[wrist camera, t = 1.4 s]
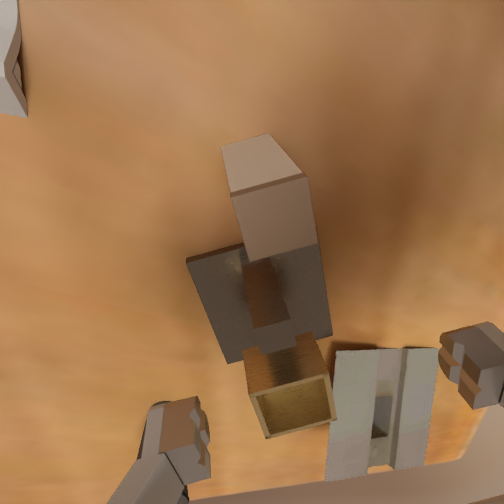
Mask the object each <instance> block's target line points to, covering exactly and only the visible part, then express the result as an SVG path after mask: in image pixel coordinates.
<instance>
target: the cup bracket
mask: <svg viewBox="0 0 504 504" xmlns="http://www.w3.org/2000/svg"><path fill="white" fill-rule="evenodd" d="M315 227H316V226H315ZM316 233H317V230H316ZM317 240H318V236H317ZM186 264H187V267H188V269H189V271H190V274H191V276H192V279H193V281H194V284H195V286H196V289H197V291H198V293H199V296H200V298H201V301H202V303H203V306H204V308H205V310H206V313H207V315H208V318H209V320H210V323H211V325H212V328H213V330H214V332H215V335H216V337H217V340H218V342H219V345H220V347H221V350H222V352H223V354H224V357H225V359H226V362H227V364H230V363H234V362H237V361H241V360H244V365H245V372H246V379H247V386H248V394H249V397H250V399H251V402H252V404H253V407H254V410H255V412H256V415H257V417H258V420H259V422H260V425H261V428H262V430H263V433H264V435H265V438H266V439H270V438H273V437H277V436H281V435H284V434H288V433H292V432H295V431H299V430H303V429H306V428H310V427H314V426H318V425H321V424H325V423H329V422H332V421H336V420H337V415H336V409H335V404H334V398H333V393H332V387H331V381H330V376H329V371H328V369H327V367H326V364H325V362H324V359H323V357H322V354H321V352H320V349H319V347H318V344H317V342H316V340H318V339H322V338H325V337H329V336H333V332H332V326H331V319H330V313H329V307H328V300H327V294H326V287H325V281H324V275H323V268H322V262H321V255H320V249H319V243H316V244H313V245H309V246H305V247H302V248H298V249H294V250H291V251H287V252H284V253H280V254H276V255H273V256H269V257H265V258H262V259H258V260H255V261H251V262H250V261H249V258H248V254H247V251H246V247H245V244H244V243H240V244H237V245H233V246H229V247H226V248H222V249H218V250H215V251H211V252H208V253H204V254H200V255H197V256H193V257H190V258H186Z"/></svg>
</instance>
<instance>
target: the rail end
mask: <svg viewBox="0 0 504 504" xmlns="http://www.w3.org/2000/svg"><path fill="white" fill-rule="evenodd" d="M221 150H222V155H223V159H224V164H225V168H226V173H227V177H228V182H229V186H230V191H231V193H230V195H231V199H232V203H233V206H234V210H235V213H236V216H237V220H238V223H239V227H240V230H241V234H242V237H243V241H244V244H245V247H246V251H247V254H248V258H249V261H250V262H251V261H255V260H258V259H262V258H265V257H269V256H273V255H276V254H280V253H284V252H287V251H291V250H294V249H298V248H302V247H305V246H309V245H313V244H316V243H318V240H317V233H316V227H315V221H314V214H313V208H312V202H311V195H310V189H309V183H308V176H307V175H306V174H305V173H304V172H302V171H301V170H300V169H299V168H298V167H297V166H296V164H295V163H294V162H293V161H292V160H291V159H290V157H289V156H288V155H287V154H286V153H285V152H284V151H283V149H282V148H281V147H280V146H279V145H278V144H277V143H276V141H275V140H274V139H273V138H272V137H271V136H270V134H269V133H267V134H264V135H260V136H256V137H253V138H249V139H246V140H242V141H238V142H235V143H231V144H228V145H224V146H221Z"/></svg>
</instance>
